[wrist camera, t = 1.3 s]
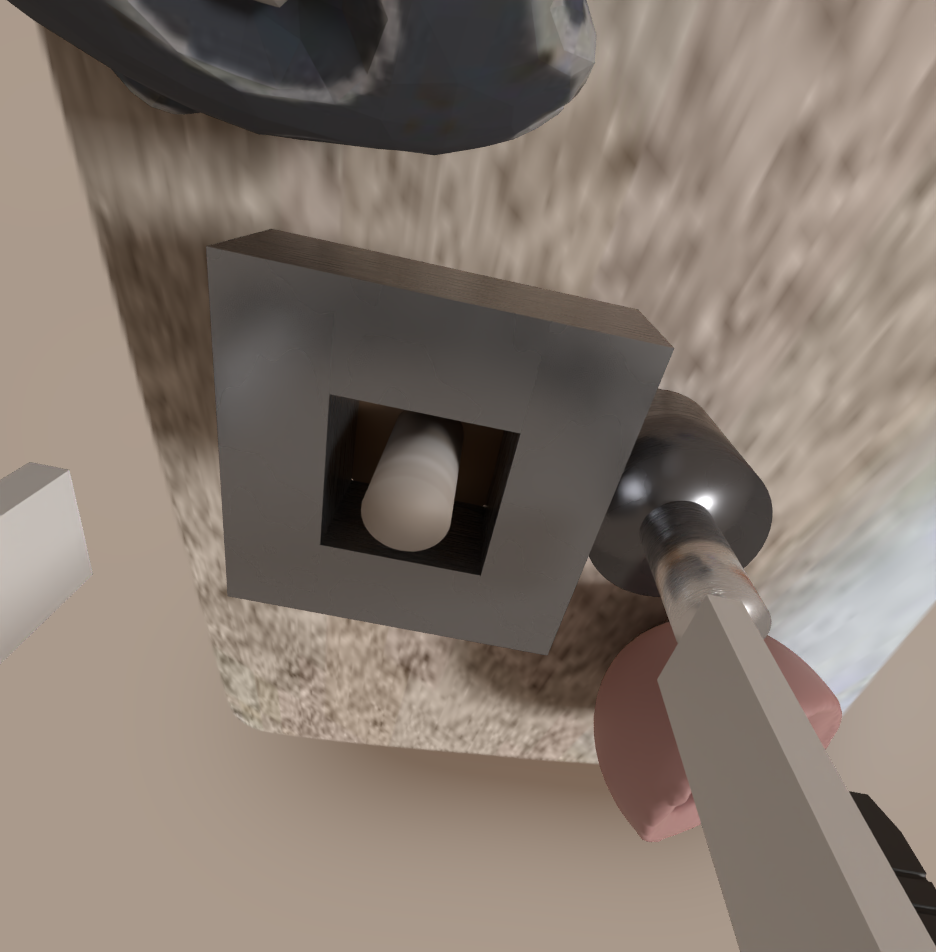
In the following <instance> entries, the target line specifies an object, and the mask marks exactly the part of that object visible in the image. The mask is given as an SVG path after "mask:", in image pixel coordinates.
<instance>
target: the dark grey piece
mask: <svg viewBox="0 0 936 952" xmlns="http://www.w3.org/2000/svg"><path fill="white" fill-rule="evenodd" d="M8 1H9V2H10V3H11V4H13V5H14V6H15V7H17V8H18V9H19V10H21V11H22V12H23V13H25V14H26V15H28V16H29V17H30V18H32V19H33V20H34V21H36V22H38V23H39V24H41V25H42V26H44V27H46V28H47V29H49V30H50V31H52V32H54V33H55V34H57V35H58V36H60V37H62V38H63V39H65V40H66V41H68V42H70V43H71V44H73V45H74V46H76V47H78V48H79V49H81V50H82V51H84V52H86V53H87V54H89V55H90V56H92V57H94V58H95V59H97V60H98V61H100V62H102V63H103V64H105V65H106V66H108V67H110V68H111V69H112V70H113V71H114V72H115V74H116V75H117V76H118V77H119V78H120V79H121V81H122V82H123V83H124V84H125V85H126V86H127V87H128V89H129V90H130V91H131V92H132V93H134V94H135V95H136V96H138V97H139V98H140V99H142V100H143V101H144V102H146V103H147V104H148V105H150V106H151V107H154V108H157V109H160V110H163V111H166V112H169V113H173V114H192V113H200V112H201V113H204V114H206V115H209V116H212V117H214V118H217V119H220V120H222V121H225V122H228V123H230V124H233V125H236V126H238V127H241V128H244V129H246V130H249V131H252V132H254V133H257V134H262V135H272V136H279V137H286V138H292V139H300V140H309V141H318V142H328V143H336V144H344V145H352V146H360V147H368V148H376V149H387V150H399V151H408V152H415V153H423V154H430V155H439V154H445V153H451V152H457V151H463V150H469V149H475V148H480V147H485V146H490V145H493V144H497V143H501V142H505V141H509V140H513V139H515V138H517V137H519V136H521V135H524V134H526V133H528V132H530V131H532V130H534V129H536V128H538V127H539V126H541V125H542V124H544V123H545V122H547V121H549V120H550V119H552V118H553V117H555V116H556V115H558V114H559V113H560V112H561V111H562V110H563V108H564V105H565V104H567V103H569V102H570V101H571V100H572V99H573V98H574V97H575V96H576V95H577V94H578V93H579V91H580V90H581V88H582V87H583V86H584V84H585V83H586V81H587V78H588V76H589V74H590V72H591V70H592V68H593V65H594V63H595V50H596V32H595V29H594V25H593V22H592V18H591V15H590V11H589V8H588V5H587V1H586V0H8Z"/></svg>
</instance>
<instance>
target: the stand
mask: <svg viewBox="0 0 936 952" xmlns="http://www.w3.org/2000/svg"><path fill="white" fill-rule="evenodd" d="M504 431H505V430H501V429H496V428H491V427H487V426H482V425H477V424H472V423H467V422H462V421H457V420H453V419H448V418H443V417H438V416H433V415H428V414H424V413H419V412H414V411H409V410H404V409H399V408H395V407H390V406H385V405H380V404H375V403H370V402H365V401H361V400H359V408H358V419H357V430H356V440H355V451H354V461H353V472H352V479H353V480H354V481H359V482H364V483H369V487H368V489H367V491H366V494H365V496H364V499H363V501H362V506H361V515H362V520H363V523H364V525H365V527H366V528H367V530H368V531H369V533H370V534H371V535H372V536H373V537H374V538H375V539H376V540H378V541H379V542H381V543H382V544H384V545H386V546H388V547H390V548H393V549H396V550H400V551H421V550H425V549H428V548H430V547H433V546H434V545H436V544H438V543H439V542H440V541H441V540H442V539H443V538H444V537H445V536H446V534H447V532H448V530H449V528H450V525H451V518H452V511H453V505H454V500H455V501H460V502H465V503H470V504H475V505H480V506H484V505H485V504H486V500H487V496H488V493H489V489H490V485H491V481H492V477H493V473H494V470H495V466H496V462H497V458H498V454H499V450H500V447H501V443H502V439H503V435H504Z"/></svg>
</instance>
